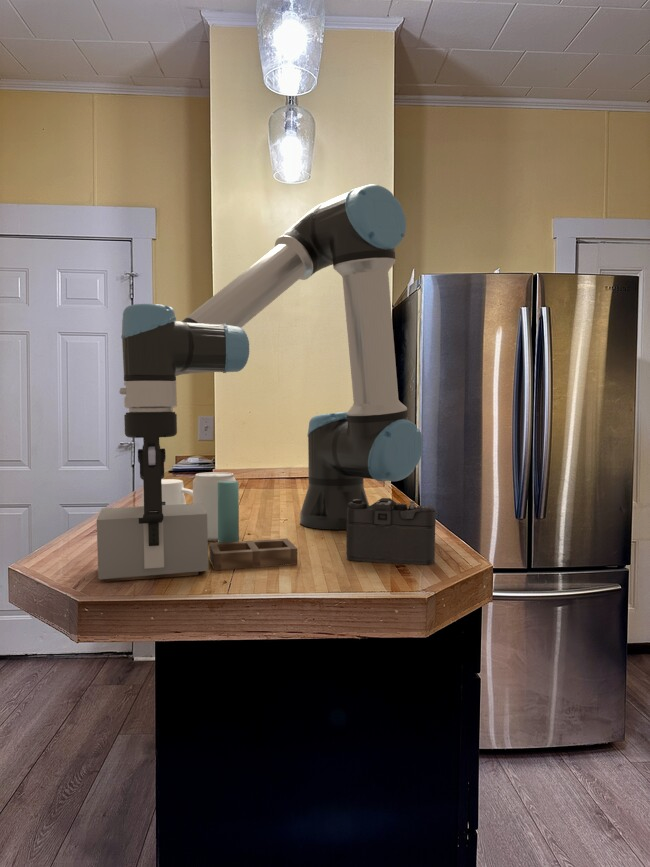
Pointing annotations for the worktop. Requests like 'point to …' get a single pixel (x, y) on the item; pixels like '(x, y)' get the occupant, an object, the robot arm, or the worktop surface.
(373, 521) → the camera
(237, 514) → the pin
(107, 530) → the cover
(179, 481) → the mug
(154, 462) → the robot arm
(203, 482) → the beverage can
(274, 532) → the worktop surface
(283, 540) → the board
